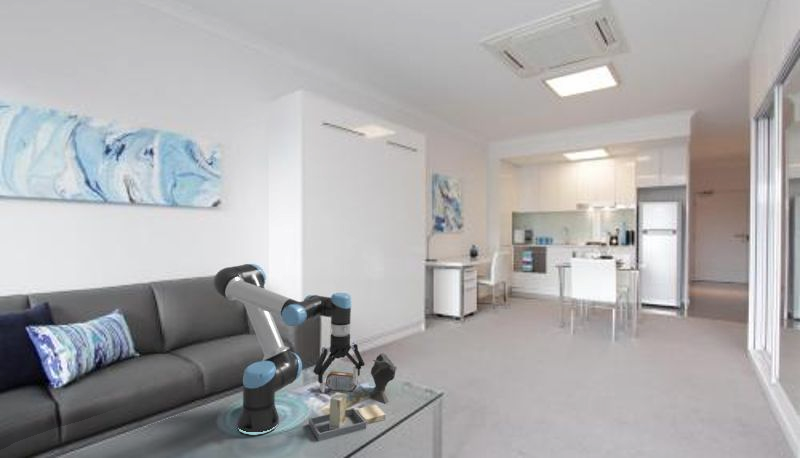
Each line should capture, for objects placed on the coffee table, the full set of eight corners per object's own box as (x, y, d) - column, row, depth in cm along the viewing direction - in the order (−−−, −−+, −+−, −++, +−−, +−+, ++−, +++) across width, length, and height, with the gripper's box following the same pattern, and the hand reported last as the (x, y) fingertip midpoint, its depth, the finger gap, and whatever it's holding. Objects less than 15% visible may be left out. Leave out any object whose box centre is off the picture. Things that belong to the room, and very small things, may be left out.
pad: (365, 424, 162) (365, 419, 162) (356, 413, 169) (356, 409, 169) (385, 419, 166) (385, 414, 166) (375, 409, 174) (375, 404, 174)
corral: (318, 440, 149) (318, 434, 149) (308, 424, 160) (308, 418, 160) (366, 428, 159) (366, 422, 159) (353, 413, 170) (353, 407, 169)
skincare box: (339, 431, 156) (340, 400, 155) (328, 429, 157) (329, 399, 156) (345, 423, 162) (346, 393, 161) (335, 421, 163) (336, 391, 162)
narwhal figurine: (403, 391, 192) (405, 353, 191) (385, 403, 179) (387, 363, 178) (378, 383, 199) (379, 347, 198) (359, 394, 186) (360, 356, 185)
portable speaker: (358, 390, 191) (358, 372, 190) (356, 393, 188) (357, 375, 187) (326, 387, 192) (327, 370, 192) (324, 390, 189) (325, 372, 189)
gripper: (312, 341, 148) (310, 398, 149) (373, 332, 160) (372, 384, 161) (305, 335, 154) (304, 389, 155) (365, 327, 167) (364, 377, 168)
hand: (339, 387), depth 158 cm, fingers open, 13 cm apart
